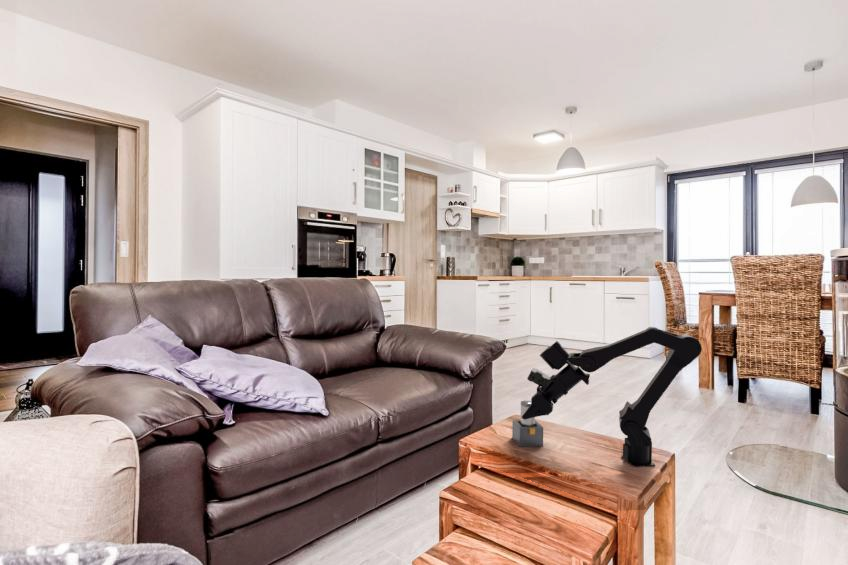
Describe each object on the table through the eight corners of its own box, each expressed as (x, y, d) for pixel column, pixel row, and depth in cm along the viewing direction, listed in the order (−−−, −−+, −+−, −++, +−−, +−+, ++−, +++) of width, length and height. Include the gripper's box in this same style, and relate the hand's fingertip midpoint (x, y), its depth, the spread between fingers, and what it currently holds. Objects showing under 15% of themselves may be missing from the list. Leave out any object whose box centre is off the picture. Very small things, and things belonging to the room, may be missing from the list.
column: (531, 438, 136) (532, 400, 136) (536, 444, 132) (537, 404, 131) (518, 439, 136) (518, 400, 135) (522, 444, 131) (523, 404, 131)
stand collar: (535, 439, 138) (535, 419, 138) (544, 450, 130) (544, 428, 130) (511, 440, 137) (511, 419, 137) (519, 451, 129) (520, 429, 129)
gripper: (547, 355, 140) (512, 385, 144) (540, 366, 123) (500, 400, 127) (573, 382, 137) (536, 412, 142) (569, 397, 120) (527, 431, 124)
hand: (525, 413), depth 134 cm, fingers open, 9 cm apart
